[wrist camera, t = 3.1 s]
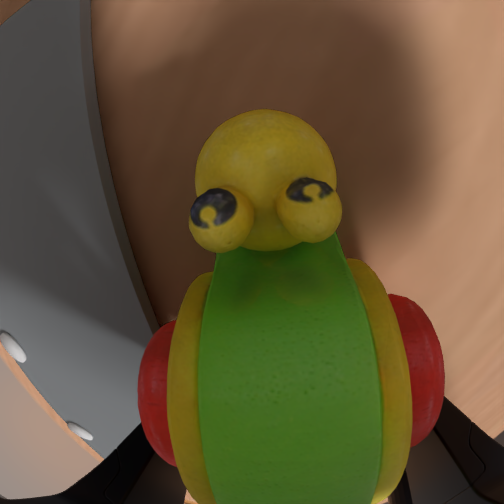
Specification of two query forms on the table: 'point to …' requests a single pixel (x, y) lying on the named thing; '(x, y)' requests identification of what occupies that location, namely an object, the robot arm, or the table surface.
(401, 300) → the toy measuring tape
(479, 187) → the table surface
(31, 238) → the marked mat
